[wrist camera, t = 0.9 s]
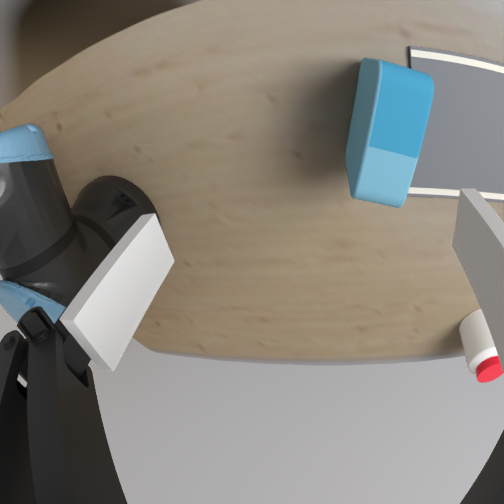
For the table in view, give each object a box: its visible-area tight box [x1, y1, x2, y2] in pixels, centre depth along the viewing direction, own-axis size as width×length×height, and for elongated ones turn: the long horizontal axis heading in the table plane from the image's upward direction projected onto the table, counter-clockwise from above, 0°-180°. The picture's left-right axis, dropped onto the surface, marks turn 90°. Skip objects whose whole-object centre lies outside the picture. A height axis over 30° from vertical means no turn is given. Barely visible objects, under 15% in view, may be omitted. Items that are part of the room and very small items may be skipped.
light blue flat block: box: [345, 58, 434, 208], centre depth 25 cm, size 12×4×12 cm, turn 176°
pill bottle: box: [459, 309, 504, 383], centre depth 40 cm, size 8×8×11 cm
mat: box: [407, 46, 504, 202], centre depth 27 cm, size 19×18×1 cm
